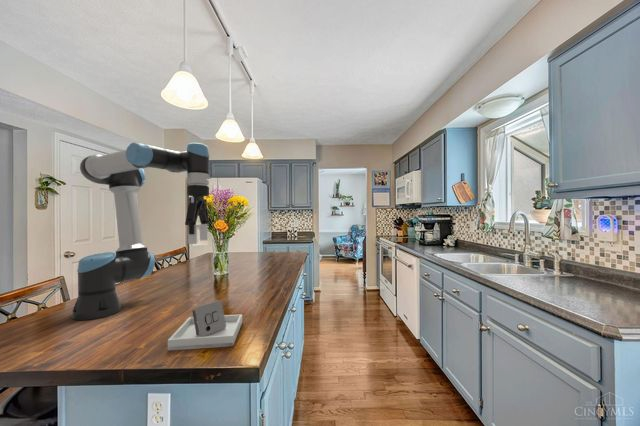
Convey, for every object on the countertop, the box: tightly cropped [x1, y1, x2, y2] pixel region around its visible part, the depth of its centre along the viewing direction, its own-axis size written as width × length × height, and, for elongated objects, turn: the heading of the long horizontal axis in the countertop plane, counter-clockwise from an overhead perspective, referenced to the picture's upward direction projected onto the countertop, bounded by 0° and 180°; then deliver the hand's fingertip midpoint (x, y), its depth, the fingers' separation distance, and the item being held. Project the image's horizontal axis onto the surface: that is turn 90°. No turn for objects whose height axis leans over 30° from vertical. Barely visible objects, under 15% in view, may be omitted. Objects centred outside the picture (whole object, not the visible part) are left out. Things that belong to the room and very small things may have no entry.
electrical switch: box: [192, 299, 226, 337], centre depth 89 cm, size 9×5×9 cm, turn 147°
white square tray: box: [167, 313, 243, 352], centre depth 89 cm, size 18×18×3 cm
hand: (198, 242), depth 104 cm, fingers open, 13 cm apart
